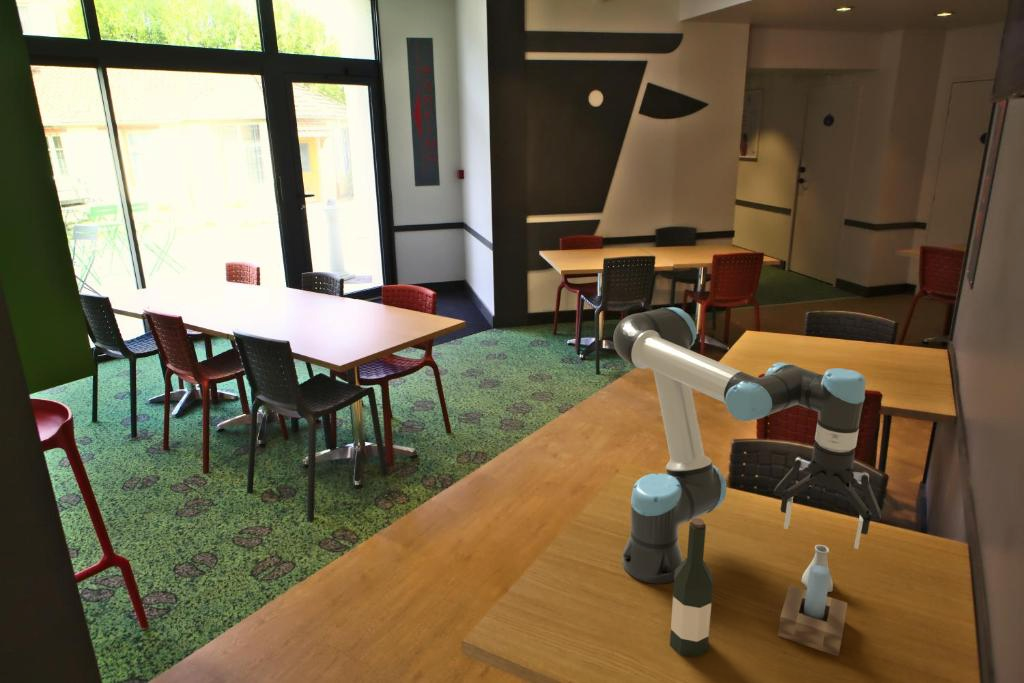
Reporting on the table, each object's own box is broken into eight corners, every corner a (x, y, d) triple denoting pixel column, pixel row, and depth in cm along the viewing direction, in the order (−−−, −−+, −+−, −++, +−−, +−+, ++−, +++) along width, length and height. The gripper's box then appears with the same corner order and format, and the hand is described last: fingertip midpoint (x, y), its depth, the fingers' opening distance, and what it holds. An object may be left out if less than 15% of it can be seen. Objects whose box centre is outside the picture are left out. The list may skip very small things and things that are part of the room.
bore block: (777, 635, 141) (780, 616, 139) (787, 603, 151) (789, 585, 149) (838, 656, 135) (841, 637, 133) (844, 621, 145) (847, 602, 143)
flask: (837, 595, 153) (842, 559, 150) (804, 592, 154) (809, 556, 152) (829, 576, 160) (834, 541, 157) (797, 573, 161) (802, 538, 158)
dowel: (800, 627, 142) (808, 573, 138) (803, 616, 145) (811, 563, 141) (820, 634, 140) (829, 579, 136) (823, 622, 143) (831, 568, 139)
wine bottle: (679, 624, 145) (687, 506, 136) (715, 641, 140) (726, 519, 131) (662, 645, 139) (669, 523, 130) (698, 664, 134) (709, 538, 125)
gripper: (766, 437, 134) (755, 526, 140) (905, 467, 121) (886, 563, 128) (773, 424, 140) (763, 510, 146) (906, 451, 127) (889, 544, 134)
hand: (820, 535), depth 137 cm, fingers open, 13 cm apart
